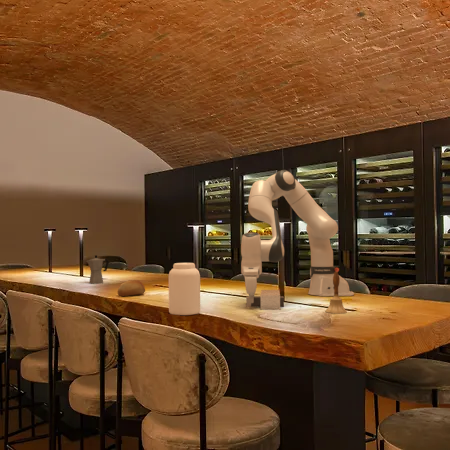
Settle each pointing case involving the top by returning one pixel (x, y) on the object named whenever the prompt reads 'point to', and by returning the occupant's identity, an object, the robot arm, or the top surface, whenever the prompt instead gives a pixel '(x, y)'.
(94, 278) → the coffeepot
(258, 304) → the plug bar
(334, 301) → the hand bell
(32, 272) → the top surface
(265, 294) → the block
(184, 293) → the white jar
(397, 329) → the top surface
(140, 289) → the bread roll
